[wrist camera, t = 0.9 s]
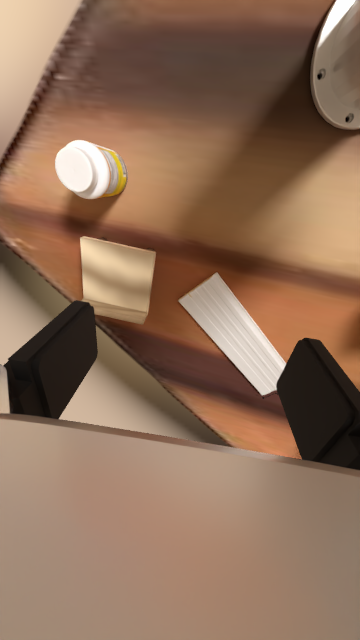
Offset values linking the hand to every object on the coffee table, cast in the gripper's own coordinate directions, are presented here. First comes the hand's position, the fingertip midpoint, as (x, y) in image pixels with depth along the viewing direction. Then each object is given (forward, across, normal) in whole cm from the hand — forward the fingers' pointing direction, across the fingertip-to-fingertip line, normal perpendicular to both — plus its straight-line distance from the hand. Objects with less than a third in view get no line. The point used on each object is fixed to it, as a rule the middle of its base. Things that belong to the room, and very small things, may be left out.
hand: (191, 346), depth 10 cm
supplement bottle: (+29, +14, -6) cm, 33 cm away
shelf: (+29, +12, +8) cm, 32 cm away
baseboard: (+29, -13, +18) cm, 37 cm away
